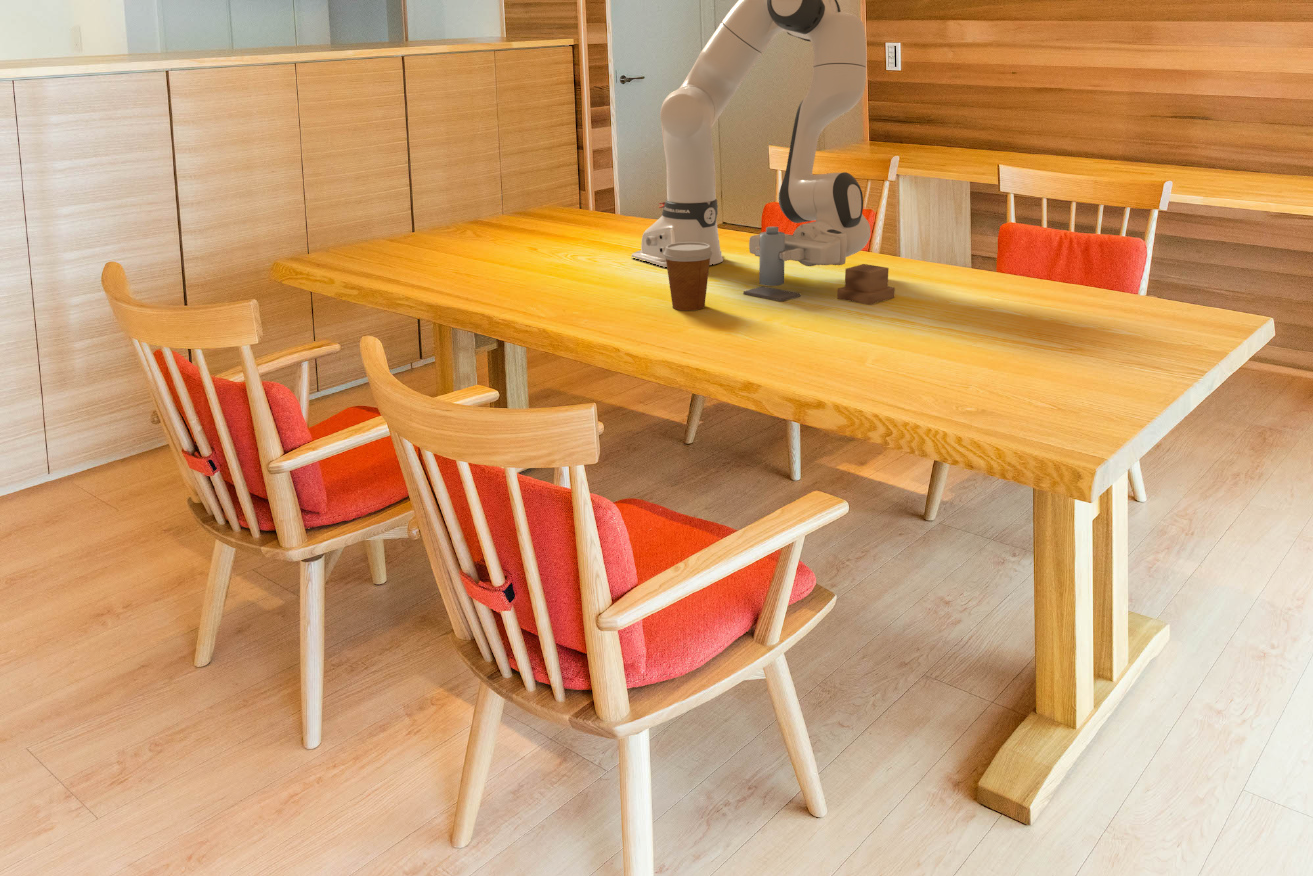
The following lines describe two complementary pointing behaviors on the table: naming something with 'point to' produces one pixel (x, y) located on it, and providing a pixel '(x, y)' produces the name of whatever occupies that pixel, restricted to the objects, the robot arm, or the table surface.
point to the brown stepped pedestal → (866, 285)
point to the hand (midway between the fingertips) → (769, 254)
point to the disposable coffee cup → (688, 274)
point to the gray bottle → (771, 257)
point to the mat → (771, 293)
